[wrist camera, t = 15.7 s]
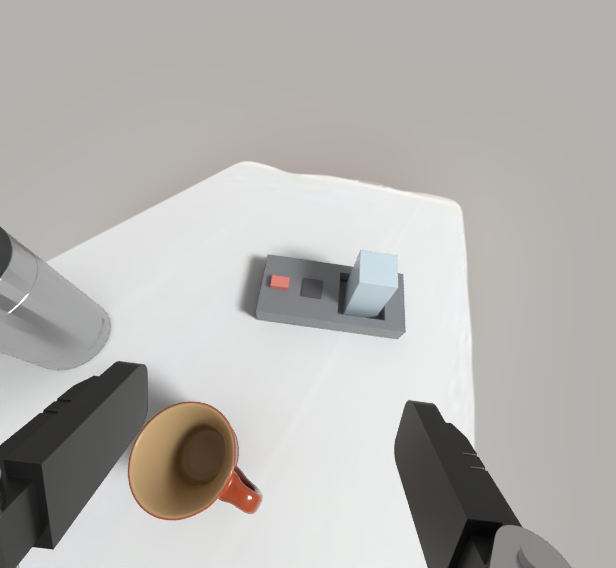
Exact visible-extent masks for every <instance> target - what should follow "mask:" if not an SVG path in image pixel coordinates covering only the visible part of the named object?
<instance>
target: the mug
mask: <svg viewBox="0 0 616 568" xmlns="http://www.w3.org/2000/svg"><path fill="white" fill-rule="evenodd" d="M238 456H239V447H238V440H237V437H236V434H235V432H234V431H233V429H232V427H231V425H230V423H229V422H228V420H227V419H226V418H225V416H224V415H223V414H222V413H221V412H220V411H218V410H217V409H216V408H214V407H212V406H210V405H208V404H205V403H201V402H183V403H179V404H175V405H173V406H170V407H168V408H166V409H164V410H163V411H161V412H160V413H158V414H157V415H156V416H154V417H153V418H152V419H151V420H150V421H149V422H148V423H147V424H146V425H145V427H144V428H143V429H142V431H141V432H140V434H139V435H138V437H137V439H136V441H135V443H134V445H133V448H132V451H131V454H130V458H129V464H128V480H129V485H130V489H131V492H132V494H133V496H134V498H135V500H136V502H137V503H138V504H139V506H140V507H141V508H142V509H143V510H144V511H146V512H147V513H148V514H150V515H152V516H154V517H156V518H159V519H163V520H181V519H185V518H189V517H192V516H194V515H196V514H198V513H200V512H202V511H204V510H205V509H207V508H208V507H210V506H211V505H212V504H213V503H214V502H215V501H216V500H217V498H218V499H219V500H221V501H224V502H228V503H231V504H233V505H234V506H236V507H237V508H239V509H240V510H242V511H243V512H245V513H248V514H254V513H255V512H256V511H257V510H258V508H259V506H260V504H261V502H262V499H263V495H262V493H261V491H260V490H259V489H258V488H257V487H256V486H255V485H254V484H253V483H252V482H251V481H249V480H248V479H247V477H246V476H245V475H244V474H243V472H242V471H241V470H240V469H239V468H238V467H237V462H238Z"/></svg>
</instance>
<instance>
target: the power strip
mask: <svg viewBox="0 0 616 568" xmlns="http://www.w3.org/2000/svg"><path fill="white" fill-rule="evenodd" d="M352 269H353V267H351V266H344V265H337V264H330V263H323V262H316V261H309V260H302V259H295V258H288V257H282V256H275V255H268V256H267V261H266V266H265V270H264V275H263V280H262V285H261V289H260V294H259V299H258V304H257V308H256V315H257V320H264V321H271V322H278V323H285V324H293V325H300V326H307V327H314V328H321V329H329V330H336V331H343V332H350V333H357V334H365V335H372V336H379V337H386V338H393V339H398V338H399V337H401V336H402V335H403V334H404V333H405V309H404V284H403V274H400V273H398V289H397V290H396V291H395V293H394V294H393V295H392V297H391V298H390V299H389V300H388V302H387V303H386V304H385V306H384V307H383V308H382V310H381V311H380V312H379V314H378V315H377V316H376V318H375V319H370V318H363V317H356V316H349V315H343V307H344V291H345V286H346V283H347V281H348V279H349V276H350V274H351V272H352Z"/></svg>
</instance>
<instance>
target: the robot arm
mask: <svg viewBox="0 0 616 568" xmlns="http://www.w3.org/2000/svg"><path fill="white" fill-rule="evenodd" d="M110 327H111V324H110V318H109V316H108V314H107V312H106V311H105V310H104V309H103V308H102V307H101V306H99V305H98V304H97V303H96V302H94V301H93V300H92V299H91V298H89V297H88V296H87V295H86V294H84V293H83V292H82V291H81V290H79V289H78V288H77V287H76V286H74V285H73V284H72V283H71V282H69V281H68V280H67V279H66V278H64V277H63V276H62V275H60V274H59V273H58V272H57V271H55V270H54V269H53V268H52V267H50V266H49V265H48V264H47V263H45V262H44V261H43V260H41V259H40V258H39V257H38V256H36V255H35V254H34V253H33V252H31V251H30V250H29V249H28V248H26V247H25V246H24V245H22V244H21V243H20V242H18V241H17V240H16V239H15V238H13V237H12V236H11V235H10V234H8V233H7V232H6V231H5V230H3V229H2V228H1V227H0V352H1V353H4V354H7V355H10V356H13V357H16V358H19V359H22V360H24V361H27V362H30V363H33V364H36V365H39V366H42V367H45V368H48V369H53V370H67V369H71V368H75V367H77V366H80V365H82V364H84V363H86V362H87V361H89V360H90V359H92V358H93V357H94V356H95V355H96V354H97V353H98V352H99V351H100V350H101V349H102V348H103V346H104V345H105V343H106V341H107V339H108V337H109V333H110ZM147 410H148V373H147V367H146V365H144V364H137V363H129V362H122V361H117V362H115V363H114V364H113V365H112V366H111V367H109V368H108V369H107V370H106V371H105V372H104V373H102V374H101V375H100V376H93V377H91V378H89V379H86V380H84V381H82V382H80V383H78V384H76V385H74V386H73V387H71V388H70V389H69V390H68V391H66V392H65V393H64V394H63V395H61V396H60V397H59V398H58V399H57V401H56V402H55V401H54V402H53V403H52V404H50V405H49V406H48V407H47V408H45V409H44V411H43V413H39V414H38V415H37V416H36V417H34V418H33V419H32V420H31V421H30V422H28V423H27V424H26V425H25V426H23V427H22V428H21V429H20V430H18V431H17V432H16V433H15V434H14V435H12V436H11V437H10V438H9V439H7V440H6V441H5V442H4V443H2V444H1V445H0V568H19V563H20V562H21V560H22V559H23V558H24V557H25V555H26V554H27V553H28V552H29V550H30V549H31V548H32V547H37V548H46V549H54V548H55V547H56V545H57V544H58V542H59V541H60V540H61V538H62V537H63V535H64V534H65V533H66V531H67V530H68V529H69V527H70V526H71V524H72V523H73V522H74V520H75V519H76V518H77V516H78V515H79V513H80V512H81V511H82V509H83V508H84V506H85V505H86V504H87V502H88V501H89V500H90V498H91V497H92V495H93V494H94V493H95V491H96V490H97V489H98V487H99V486H100V484H101V483H102V482H103V480H104V479H105V477H106V476H107V475H108V473H109V472H110V471H111V469H112V468H113V466H114V465H115V464H116V462H117V461H118V460H119V458H120V457H121V455H122V454H123V453H124V451H125V450H126V449H127V447H128V446H129V444H130V443H131V442H132V440H133V439H134V437H135V436H136V435H137V433H138V432H139V431H140V429H141V427H142V426H143V423H144V421H145V418H146V415H147ZM394 454H395V461H396V465H397V468H398V472H399V475H400V478H401V481H402V485H403V488H404V491H405V495H406V498H407V501H408V504H409V508H410V511H411V514H412V518H413V521H414V524H415V527H416V531H417V534H418V537H419V541H420V544H421V547H422V550H423V554H424V557H425V560H426V564H427V567H428V568H571V566H570V565H569V564H568V562H567V561H566V560H565V558H563V556H562V555H561V554H560V553H559V552H558V551H557V550H556V549H555V548H554V547H553V546H552V545H551V544H549V543H548V542H547V541H545V540H544V539H543V538H541V537H540V536H538V535H537V534H535V533H533V532H531V531H529V530H527V529H525V528H523V527H522V526H521V524H520V523H519V521H518V519H517V518H516V516H515V515H514V513H513V511H512V510H511V508H510V506H509V505H508V503H507V502H506V500H505V498H504V497H503V495H502V494H501V492H500V491H499V489H498V487H497V486H496V484H495V482H494V481H493V479H492V478H491V476H490V474H489V473H488V471H485V467H484V465H483V463H482V462H481V460H480V458H479V457H477V453H476V452H475V450H474V449H473V447H472V445H471V444H470V442H469V441H468V439H467V438H466V437H465V436H464V435H463V434H462V433H461V432H460V431H459V430H458V429H457V428H456V427H455V426H454V425H453V424H452V423H446V422H445V421H444V419H443V417H442V415H441V414H440V412H439V410H438V408H437V407H436V405H435V404H433V403H426V402H418V401H411V400H409V401H407V402H406V404H405V407H404V410H403V414H402V418H401V421H400V425H399V428H398V432H397V435H396V439H395V446H394Z"/></svg>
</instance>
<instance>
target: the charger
mask: <svg viewBox="0 0 616 568" xmlns="http://www.w3.org/2000/svg"><path fill="white" fill-rule="evenodd" d="M397 289H398V266H397V255H392V254H385V253H379V252H372V251H365V250H360V253H359V255H358V257H357V260H356V262H355V264H354V267H353V269H352V272H351V274H350V276H349V279H348V281H347V283H346V286H345V291H344V307H343V315H349V316H356V317H363V318H370V319H375V318H376V316H377V315H378V314H379V312H380V311H381V310H382V308H383V307H384V306H385V304H386V303H387V302H388V300H389V299H390V298H391V297H392V295H393V294H394V293H395V291H396V290H397Z"/></svg>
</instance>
